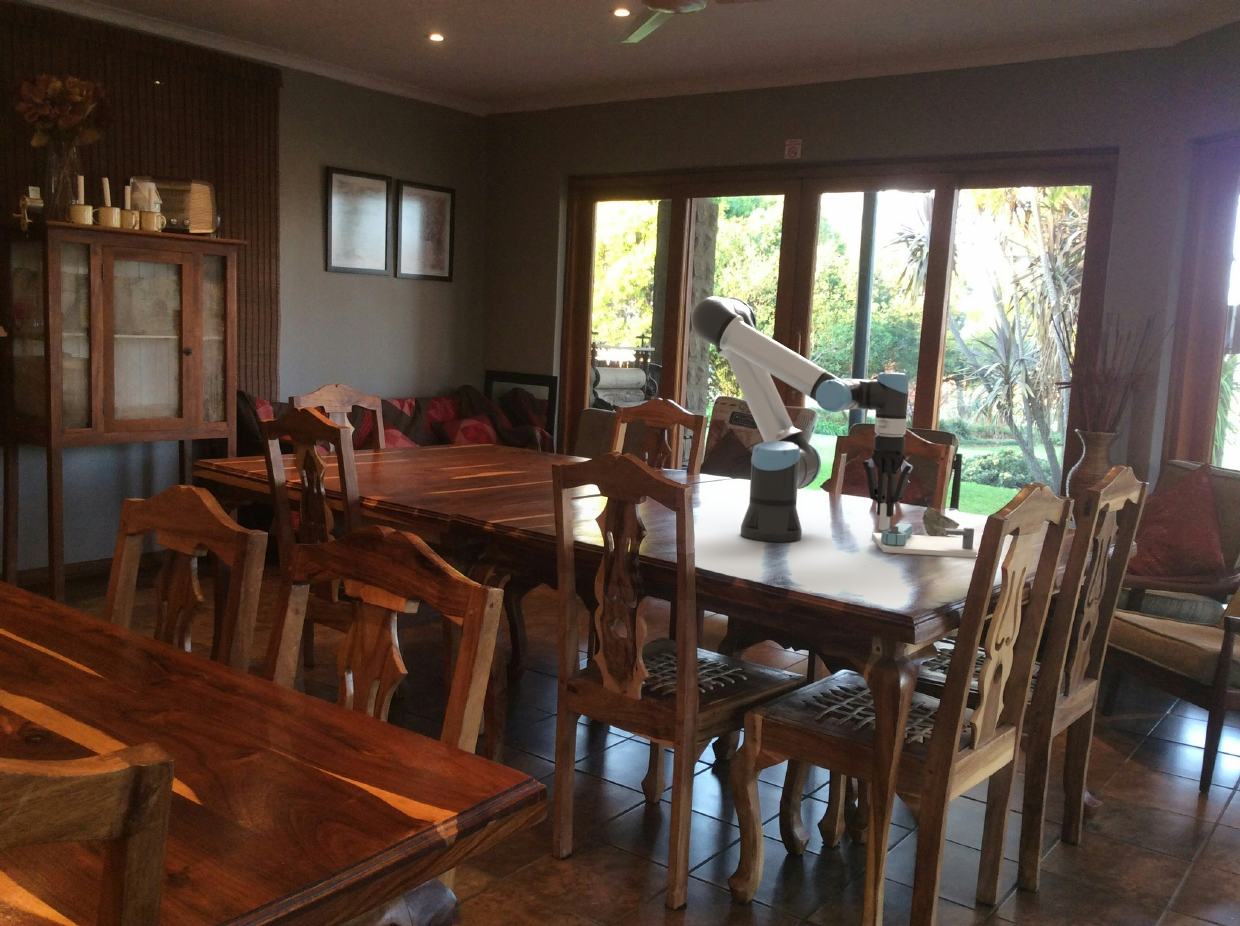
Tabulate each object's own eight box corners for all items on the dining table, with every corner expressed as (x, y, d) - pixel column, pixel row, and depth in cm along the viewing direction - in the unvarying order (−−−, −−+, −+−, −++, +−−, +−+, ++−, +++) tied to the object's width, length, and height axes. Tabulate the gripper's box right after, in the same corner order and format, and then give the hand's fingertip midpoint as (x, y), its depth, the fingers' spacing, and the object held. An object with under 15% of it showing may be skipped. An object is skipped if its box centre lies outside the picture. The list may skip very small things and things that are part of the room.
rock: (942, 537, 270) (922, 505, 275) (926, 550, 274) (907, 518, 279) (969, 534, 277) (949, 502, 282) (954, 546, 281) (935, 515, 286)
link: (903, 546, 255) (903, 535, 255) (879, 543, 257) (880, 532, 257) (915, 534, 271) (916, 524, 271) (893, 531, 273) (894, 522, 273)
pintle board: (883, 552, 254) (885, 527, 253) (871, 537, 273) (873, 514, 272) (978, 557, 252) (980, 532, 252) (960, 542, 271) (961, 519, 270)
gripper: (858, 433, 266) (853, 527, 269) (907, 438, 258) (901, 534, 261) (872, 432, 272) (867, 523, 275) (921, 436, 264) (915, 530, 266)
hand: (884, 528), depth 268 cm, fingers closed
